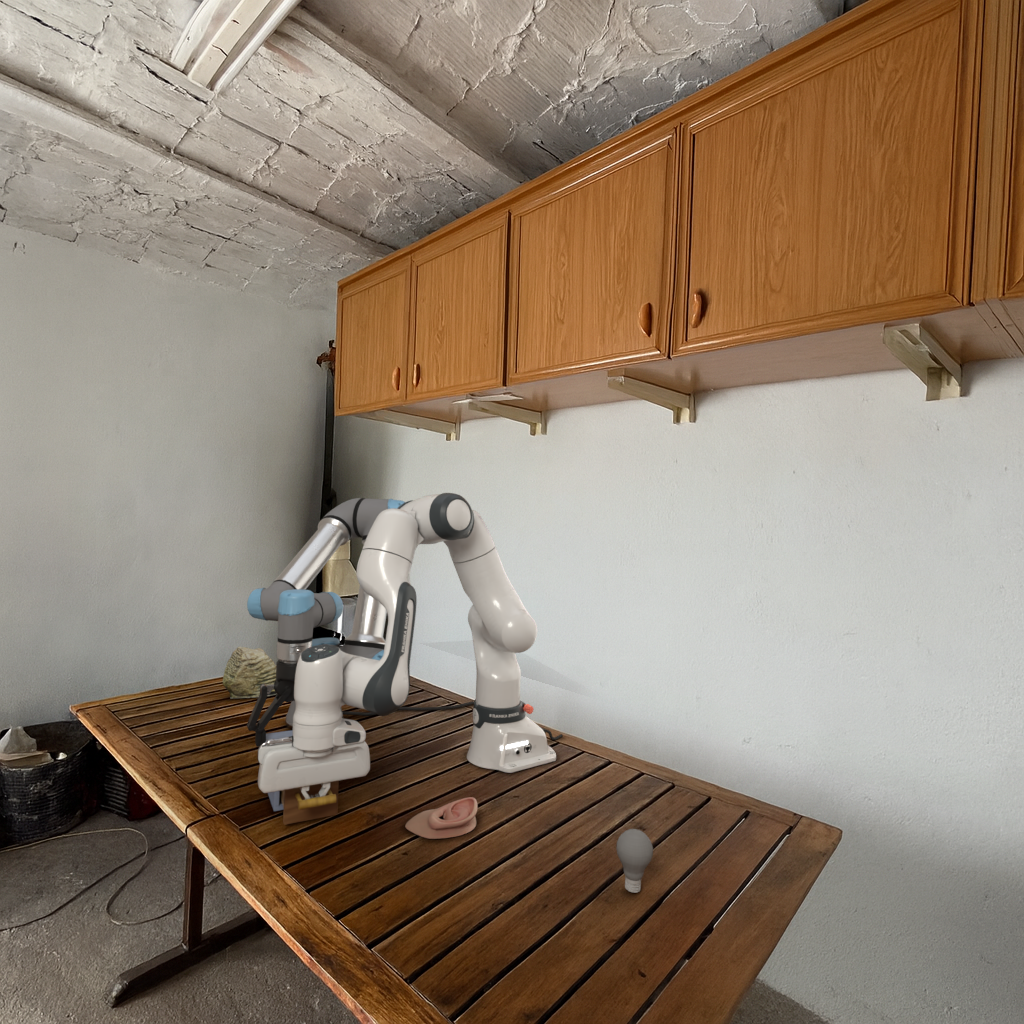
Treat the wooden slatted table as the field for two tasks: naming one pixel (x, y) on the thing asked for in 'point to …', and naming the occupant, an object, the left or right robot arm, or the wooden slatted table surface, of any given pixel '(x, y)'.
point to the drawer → (309, 803)
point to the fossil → (248, 672)
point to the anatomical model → (445, 820)
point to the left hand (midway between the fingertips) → (290, 755)
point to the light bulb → (634, 857)
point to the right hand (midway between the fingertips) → (314, 805)
